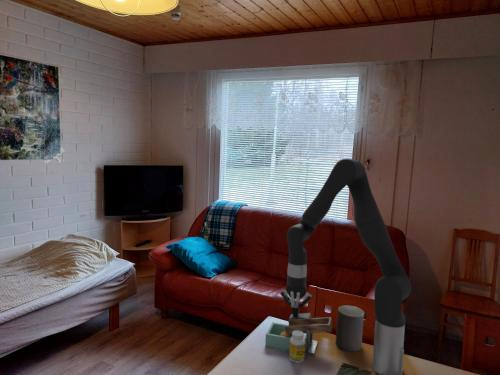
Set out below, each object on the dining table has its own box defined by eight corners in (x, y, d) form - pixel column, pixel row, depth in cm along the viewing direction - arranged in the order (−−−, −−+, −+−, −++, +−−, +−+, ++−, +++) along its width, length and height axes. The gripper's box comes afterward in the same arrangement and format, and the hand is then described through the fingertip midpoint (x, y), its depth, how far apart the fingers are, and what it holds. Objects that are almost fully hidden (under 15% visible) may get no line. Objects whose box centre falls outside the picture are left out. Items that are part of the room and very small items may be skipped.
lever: (334, 314, 144) (333, 307, 144) (331, 332, 130) (329, 324, 130) (291, 317, 150) (290, 310, 150) (283, 334, 136) (282, 327, 135)
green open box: (296, 338, 143) (297, 326, 142) (291, 352, 133) (292, 339, 133) (271, 334, 146) (272, 322, 145) (265, 346, 136) (265, 334, 136)
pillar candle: (332, 346, 138) (335, 308, 136) (339, 335, 146) (342, 299, 145) (358, 354, 133) (361, 315, 132) (364, 342, 142) (367, 305, 140)
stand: (317, 343, 140) (318, 321, 139) (313, 355, 131) (315, 332, 130) (304, 341, 141) (305, 318, 140) (300, 353, 133) (301, 329, 132)
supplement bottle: (297, 353, 133) (298, 327, 132) (307, 360, 129) (308, 334, 128) (286, 357, 130) (287, 331, 129) (295, 364, 126) (297, 338, 125)
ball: (293, 336, 140) (287, 327, 140) (291, 341, 136) (284, 332, 137) (285, 341, 141) (279, 332, 142) (283, 346, 137) (276, 337, 138)
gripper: (315, 273, 147) (312, 314, 149) (282, 268, 151) (281, 309, 153) (312, 279, 140) (309, 322, 142) (278, 274, 144) (276, 316, 146)
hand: (294, 315), depth 148 cm, fingers closed
